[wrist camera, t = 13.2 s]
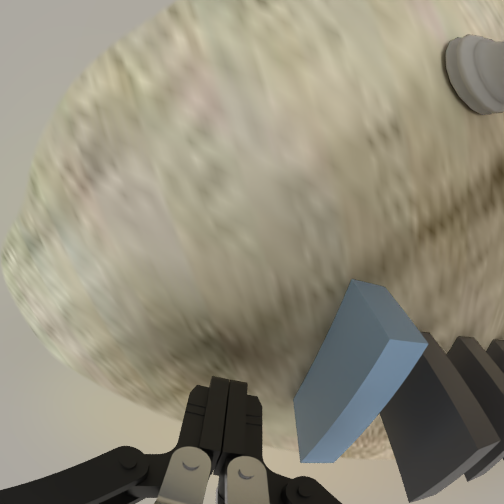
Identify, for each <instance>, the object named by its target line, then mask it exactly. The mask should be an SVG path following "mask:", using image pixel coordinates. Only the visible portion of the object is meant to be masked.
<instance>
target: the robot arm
mask: <svg viewBox="0 0 504 504" xmlns="http://www.w3.org/2000/svg"><path fill="white" fill-rule="evenodd" d="M247 386H248V385H247V383H246V382H240V381H235V380H230V381H229V379H224V378H220V377H215V376H212V378H211V382H210V387H204V386H200V385H197V386H196V387H195V388H194V389H193V390H192V391H191V392H190V395H189V399H188V403H187V407H186V411H185V415H184V419H183V423H182V427H181V432H180V436H179V440H178V443H177V445H176V447H175V448H174V449H173V450H171V451H170V452H167V453H164V454H143V453H142V452H141V451H140V450H138V449H136V448H134V447H130V446H121V447H118V448H115V449H113V450H111V451H109V452H107V453H104V454H102V455H100V456H98V457H95V458H93V459H91V460H88V461H86V462H84V463H81V464H79V465H76V466H74V467H71V468H68V469H66V470H63V471H61V472H58V473H55V474H52V475H49V476H46V477H44V478H41V479H38V480H34V481H31V482H28V483H25V484H21V485H18V486H15V487H11V488H7V489H3V490H0V504H135V503H137V502H139V501H141V500H143V499H145V498H157V500H156V502H155V503H154V504H203V500H204V495H205V491H206V487H207V483H208V480H209V477H210V475H211V474H212V472H213V470H214V475H218V476H219V483H218V487H217V489H216V504H342V503H341V502H339V501H338V500H337V499H336V498H335V497H334V496H333V495H331V494H330V493H329V492H328V491H327V490H326V489H325V488H324V487H323V486H322V485H321V484H319V483H318V482H317V481H316V480H315V479H313V478H310V477H306V476H300V477H296V478H294V479H290V478H287V477H284V476H281V475H279V474H276V473H274V472H272V471H271V470H270V469H268V467H267V466H266V465H265V463H264V462H263V458H262V405H261V403H260V401H259V399H258V397H257V396H251V395H247Z"/></svg>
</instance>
